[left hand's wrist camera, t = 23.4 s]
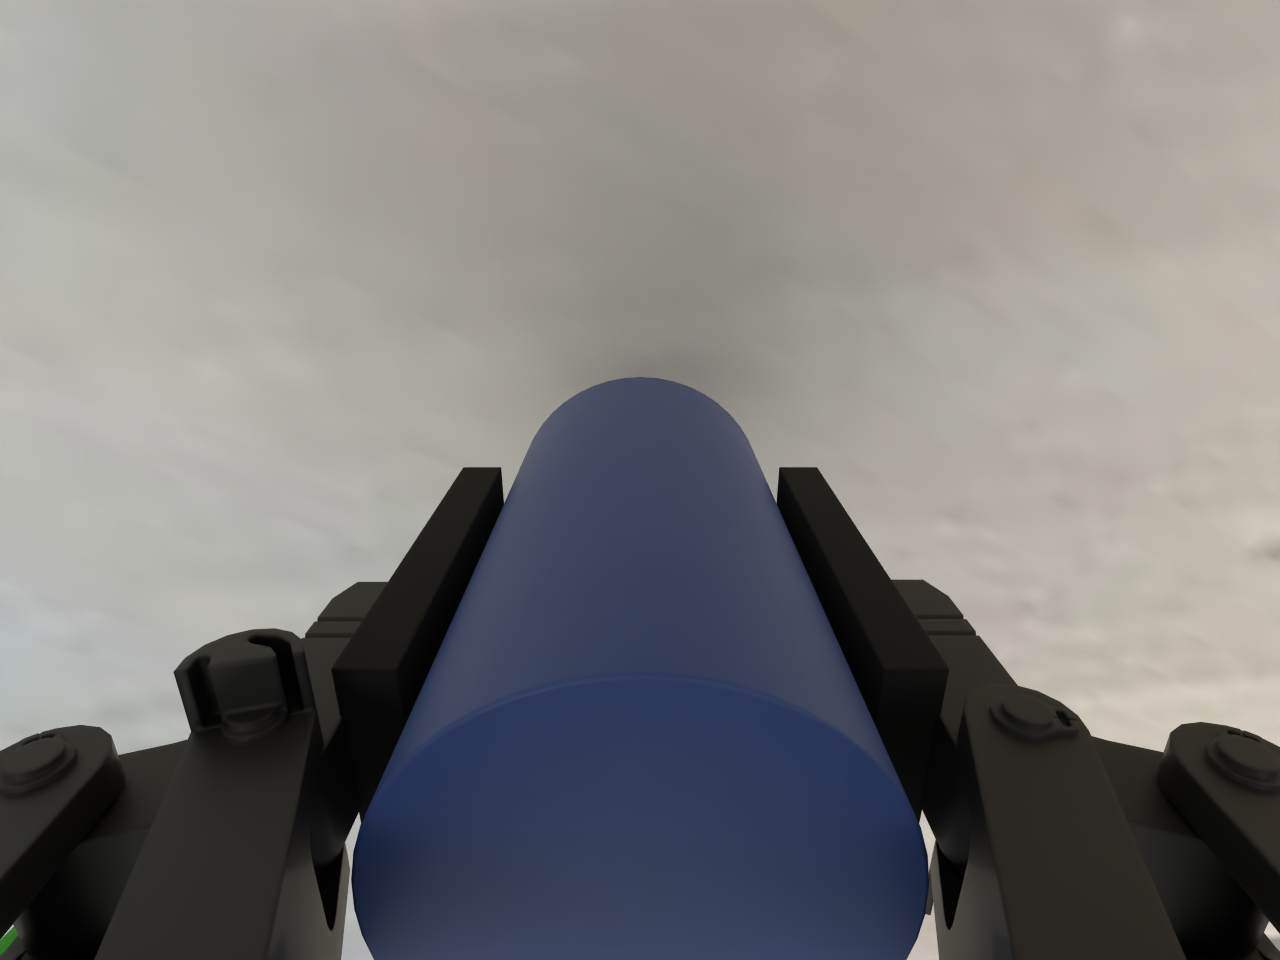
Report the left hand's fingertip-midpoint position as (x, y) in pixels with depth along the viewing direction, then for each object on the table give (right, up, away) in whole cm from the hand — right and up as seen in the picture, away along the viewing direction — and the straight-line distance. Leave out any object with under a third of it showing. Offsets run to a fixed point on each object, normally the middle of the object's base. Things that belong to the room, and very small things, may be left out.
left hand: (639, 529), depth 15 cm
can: (0, +1, +2) cm, 2 cm away
